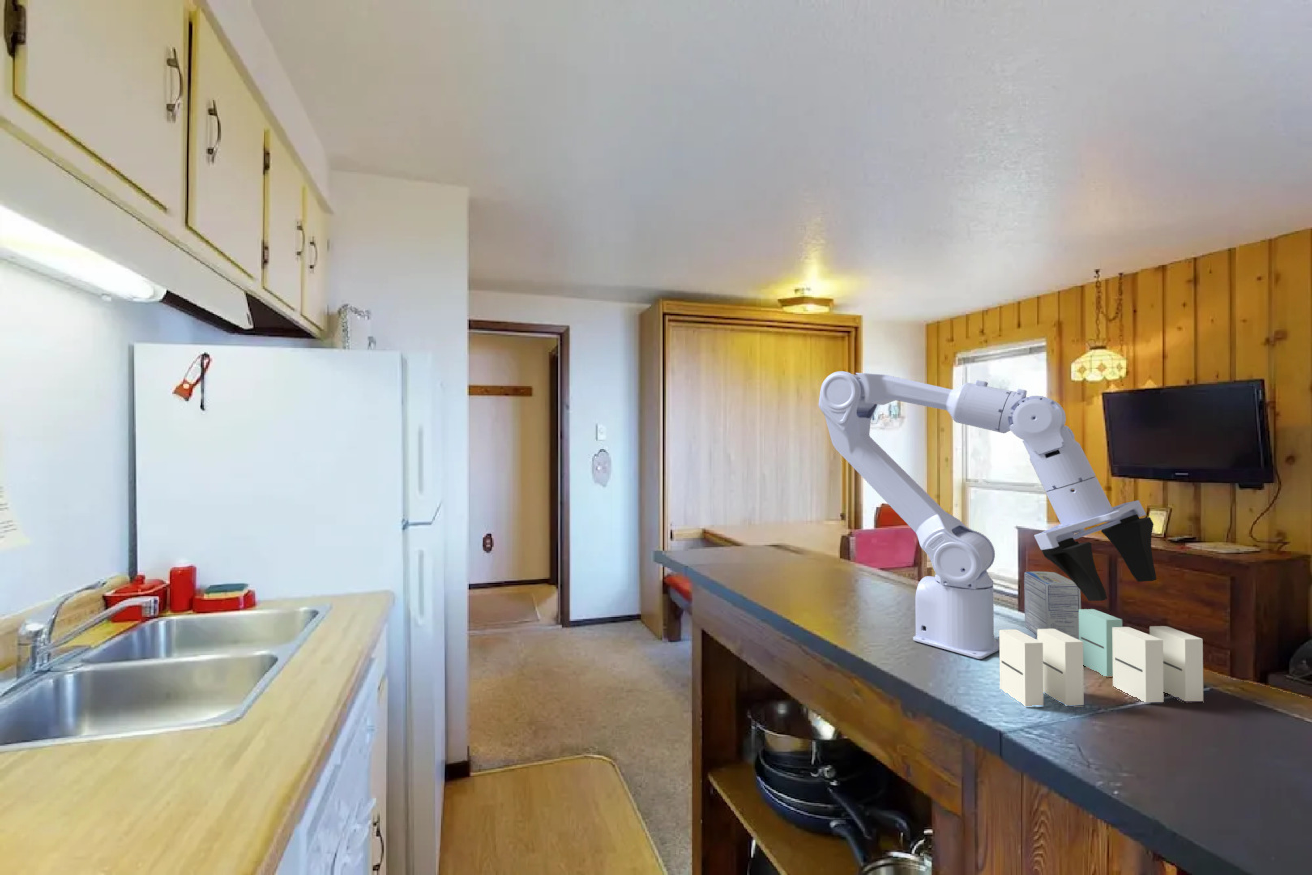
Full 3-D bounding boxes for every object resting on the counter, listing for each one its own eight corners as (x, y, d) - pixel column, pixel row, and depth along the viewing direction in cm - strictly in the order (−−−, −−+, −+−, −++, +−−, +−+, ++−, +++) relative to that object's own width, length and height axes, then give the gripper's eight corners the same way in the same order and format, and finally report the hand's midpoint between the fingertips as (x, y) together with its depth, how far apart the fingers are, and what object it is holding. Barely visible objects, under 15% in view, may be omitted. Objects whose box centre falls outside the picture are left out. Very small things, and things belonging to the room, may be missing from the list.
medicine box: (1082, 646, 81) (1082, 584, 81) (1047, 644, 82) (1046, 583, 82) (1056, 628, 89) (1055, 571, 89) (1023, 626, 90) (1023, 570, 90)
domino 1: (1017, 689, 68) (1016, 629, 68) (1043, 707, 63) (1043, 642, 63) (999, 690, 68) (999, 629, 68) (1025, 707, 63) (1024, 643, 63)
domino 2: (1054, 688, 68) (1054, 628, 68) (1083, 706, 64) (1083, 641, 64) (1037, 689, 68) (1036, 628, 68) (1065, 706, 64) (1064, 642, 64)
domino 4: (1129, 686, 68) (1129, 626, 68) (1163, 703, 64) (1163, 639, 64) (1112, 687, 68) (1112, 627, 68) (1145, 704, 64) (1145, 640, 64)
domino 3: (1094, 663, 75) (1094, 609, 75) (1122, 677, 71) (1122, 619, 71) (1078, 663, 75) (1078, 609, 75) (1106, 677, 71) (1106, 619, 71)
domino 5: (1166, 685, 69) (1166, 626, 69) (1203, 702, 64) (1202, 638, 64) (1149, 686, 68) (1149, 626, 68) (1185, 703, 64) (1184, 639, 64)
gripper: (1047, 493, 69) (1103, 608, 66) (1143, 461, 72) (1201, 569, 69) (1006, 504, 76) (1054, 609, 72) (1095, 474, 79) (1146, 573, 75)
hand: (1122, 590), depth 71 cm, fingers open, 7 cm apart
